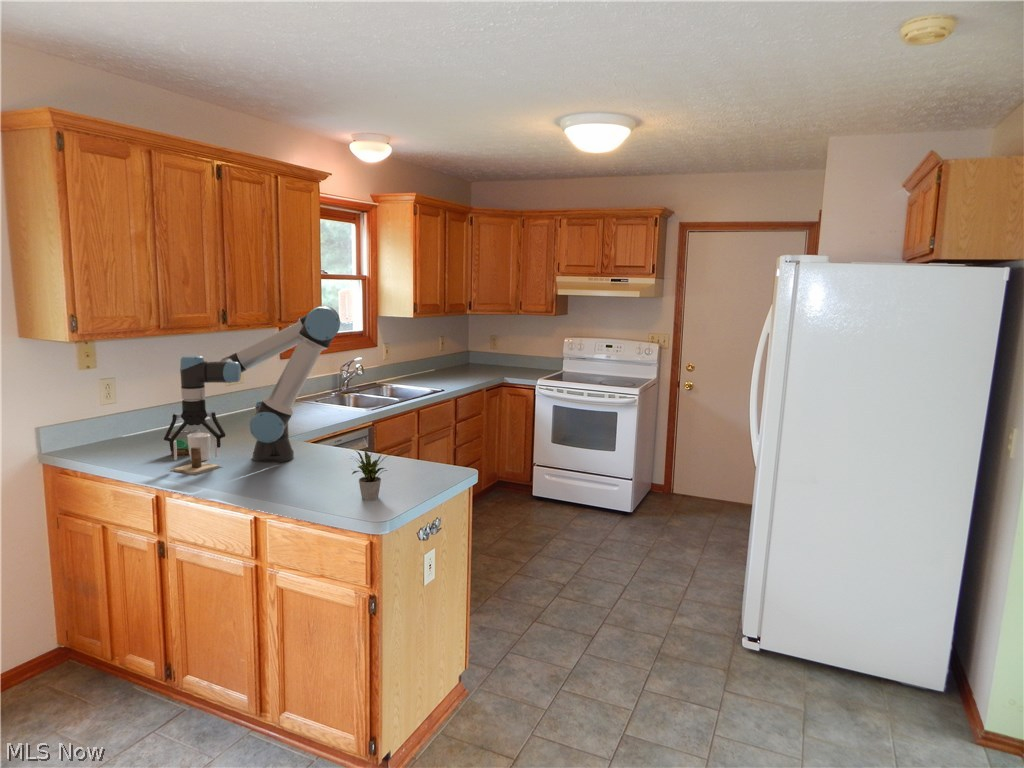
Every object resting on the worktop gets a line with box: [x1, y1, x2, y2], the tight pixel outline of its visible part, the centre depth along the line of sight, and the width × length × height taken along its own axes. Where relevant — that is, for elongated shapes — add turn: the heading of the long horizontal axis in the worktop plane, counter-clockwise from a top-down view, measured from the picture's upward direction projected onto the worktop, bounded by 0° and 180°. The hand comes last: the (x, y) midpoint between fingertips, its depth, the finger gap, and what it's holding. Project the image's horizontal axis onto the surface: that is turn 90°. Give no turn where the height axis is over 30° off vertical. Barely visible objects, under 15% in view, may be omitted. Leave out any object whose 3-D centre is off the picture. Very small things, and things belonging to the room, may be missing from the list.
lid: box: [173, 447, 220, 475], centre depth 237 cm, size 10×10×8 cm
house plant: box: [350, 449, 391, 501], centre depth 212 cm, size 14×14×16 cm
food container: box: [168, 428, 202, 457], centre depth 256 cm, size 12×6×10 cm, turn 105°
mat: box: [170, 465, 224, 477], centre depth 238 cm, size 13×13×1 cm
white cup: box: [187, 432, 211, 462], centre depth 251 cm, size 8×8×10 cm
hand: (196, 457), depth 237 cm, fingers open, 12 cm apart
